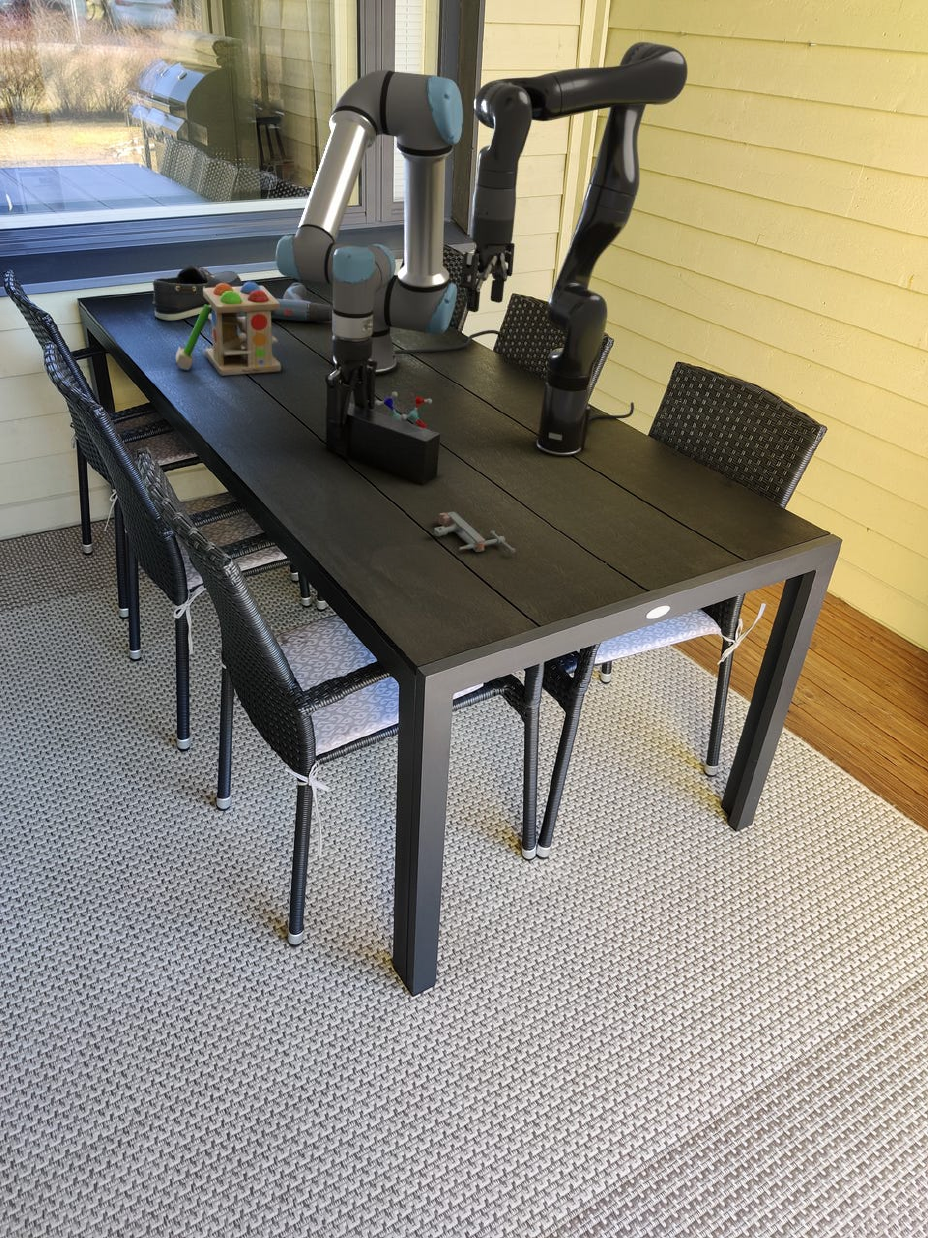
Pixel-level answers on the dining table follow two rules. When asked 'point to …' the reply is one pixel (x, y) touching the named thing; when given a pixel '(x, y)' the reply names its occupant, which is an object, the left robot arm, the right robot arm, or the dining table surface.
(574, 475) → the dining table surface
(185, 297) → the boat shoe
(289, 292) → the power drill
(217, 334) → the pounding bench toy
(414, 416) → the molecular model
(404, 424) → the bar
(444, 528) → the clamp
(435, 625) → the dining table surface
